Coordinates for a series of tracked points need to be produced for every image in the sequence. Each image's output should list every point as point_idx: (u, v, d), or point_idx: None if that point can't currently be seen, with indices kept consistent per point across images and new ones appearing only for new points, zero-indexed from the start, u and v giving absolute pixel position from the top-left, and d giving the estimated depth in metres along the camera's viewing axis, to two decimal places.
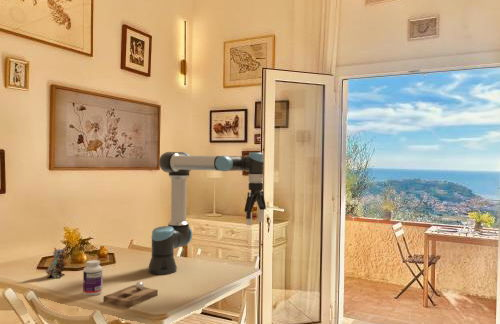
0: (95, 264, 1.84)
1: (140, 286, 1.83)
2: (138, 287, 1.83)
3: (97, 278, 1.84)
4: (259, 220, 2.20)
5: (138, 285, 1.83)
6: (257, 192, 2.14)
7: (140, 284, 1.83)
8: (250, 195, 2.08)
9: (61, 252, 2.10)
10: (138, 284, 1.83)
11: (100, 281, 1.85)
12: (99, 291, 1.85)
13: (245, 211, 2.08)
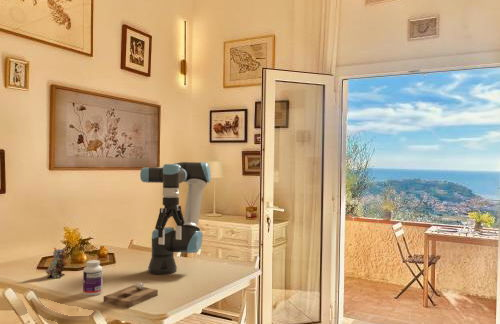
0: (95, 264, 1.84)
1: (140, 286, 1.83)
2: (138, 287, 1.83)
3: (97, 278, 1.84)
4: (176, 238, 2.01)
5: (138, 285, 1.83)
6: (172, 207, 1.95)
7: (140, 284, 1.83)
8: (162, 211, 1.89)
9: (61, 252, 2.10)
10: (138, 284, 1.83)
11: (100, 281, 1.85)
12: (99, 291, 1.85)
13: (157, 229, 1.88)
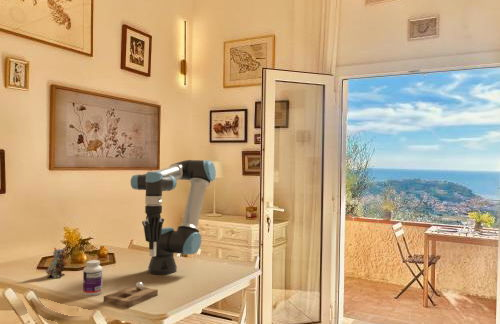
0: (95, 264, 1.84)
1: (140, 286, 1.83)
2: (138, 287, 1.83)
3: (97, 278, 1.84)
4: None
5: (138, 285, 1.83)
6: (155, 216, 1.91)
7: (140, 284, 1.83)
8: (145, 225, 1.87)
9: (61, 252, 2.10)
10: (138, 284, 1.83)
11: (100, 281, 1.85)
12: (99, 291, 1.85)
13: (148, 241, 1.91)
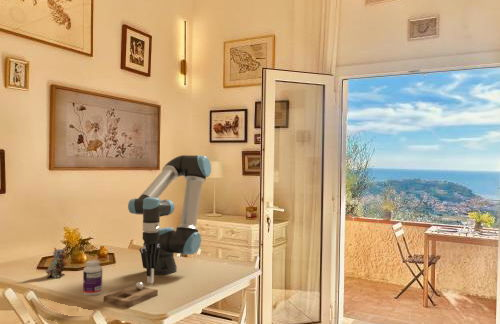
0: (95, 264, 1.84)
1: (140, 286, 1.83)
2: (138, 287, 1.83)
3: (97, 278, 1.84)
4: None
5: (138, 285, 1.83)
6: (152, 242, 1.90)
7: (140, 284, 1.83)
8: (143, 252, 1.85)
9: (61, 252, 2.11)
10: (138, 284, 1.83)
11: (100, 281, 1.85)
12: (99, 291, 1.85)
13: (145, 268, 1.90)
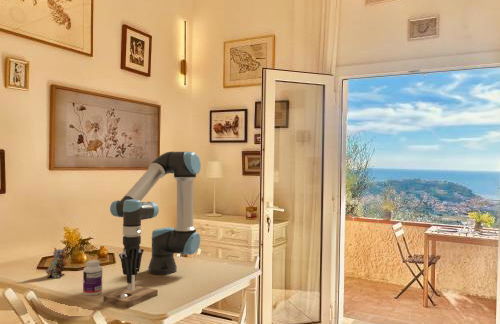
0: (95, 264, 1.84)
1: None
2: None
3: (97, 278, 1.84)
4: None
5: (122, 296, 1.74)
6: (133, 247, 1.79)
7: (125, 295, 1.75)
8: (122, 258, 1.74)
9: (61, 252, 2.10)
10: (123, 295, 1.75)
11: (100, 281, 1.85)
12: (99, 291, 1.85)
13: (126, 274, 1.79)
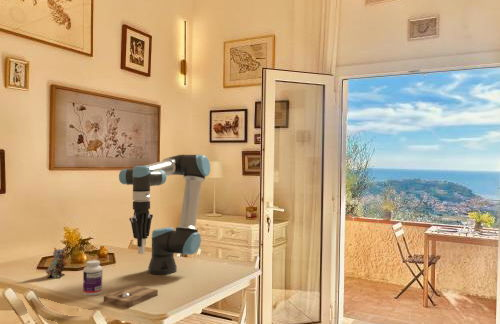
0: (95, 264, 1.84)
1: (127, 295, 1.76)
2: (125, 295, 1.76)
3: (97, 278, 1.84)
4: None
5: (126, 293, 1.76)
6: (143, 212, 1.84)
7: (128, 294, 1.77)
8: (133, 221, 1.80)
9: (61, 252, 2.10)
10: (127, 293, 1.77)
11: (100, 281, 1.85)
12: (99, 291, 1.85)
13: (136, 238, 1.84)
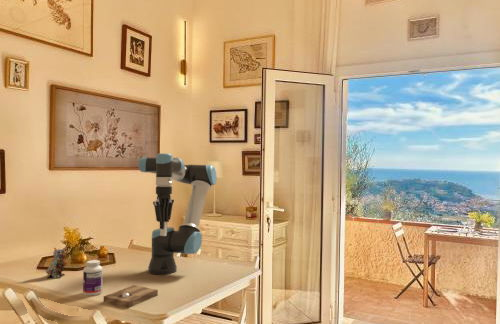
0: (95, 264, 1.84)
1: (127, 295, 1.76)
2: (125, 295, 1.75)
3: (97, 278, 1.84)
4: None
5: (126, 294, 1.76)
6: (165, 196, 1.96)
7: (128, 294, 1.77)
8: (156, 205, 1.92)
9: (61, 252, 2.10)
10: (126, 293, 1.77)
11: (100, 281, 1.85)
12: (99, 291, 1.85)
13: (158, 221, 1.96)
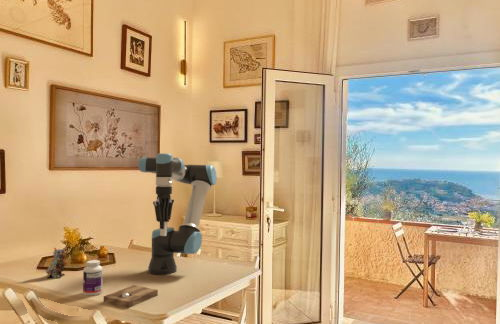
0: (95, 264, 1.84)
1: (127, 296, 1.76)
2: (125, 295, 1.75)
3: (97, 278, 1.84)
4: None
5: (126, 294, 1.76)
6: (165, 196, 1.96)
7: (128, 294, 1.76)
8: (156, 205, 1.92)
9: (61, 252, 2.10)
10: (126, 293, 1.76)
11: (100, 281, 1.85)
12: (99, 291, 1.85)
13: (158, 221, 1.96)
